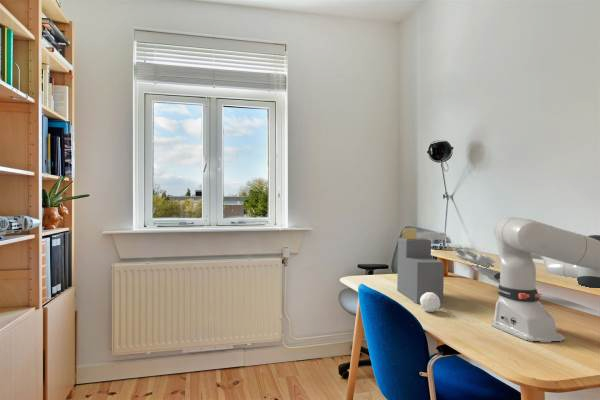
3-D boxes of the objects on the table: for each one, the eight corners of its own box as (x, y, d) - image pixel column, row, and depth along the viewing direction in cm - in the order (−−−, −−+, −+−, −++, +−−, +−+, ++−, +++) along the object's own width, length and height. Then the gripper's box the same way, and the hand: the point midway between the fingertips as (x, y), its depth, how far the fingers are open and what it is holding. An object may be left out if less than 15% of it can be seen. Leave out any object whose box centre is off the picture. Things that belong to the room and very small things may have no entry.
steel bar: (446, 239, 172) (446, 229, 172) (406, 239, 170) (406, 229, 170) (441, 238, 177) (441, 228, 177) (402, 238, 175) (402, 228, 175)
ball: (425, 316, 147) (423, 297, 152) (445, 313, 143) (441, 293, 148) (417, 310, 143) (415, 291, 148) (437, 306, 139) (434, 287, 143)
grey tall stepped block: (443, 303, 157) (444, 243, 156) (416, 303, 155) (417, 243, 155) (420, 290, 178) (421, 238, 178) (397, 290, 177) (398, 237, 177)
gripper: (493, 273, 166) (469, 259, 165) (467, 265, 187) (445, 252, 185) (499, 261, 167) (475, 247, 165) (473, 254, 187) (451, 241, 185)
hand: (459, 249), depth 175 cm, fingers open, 8 cm apart
